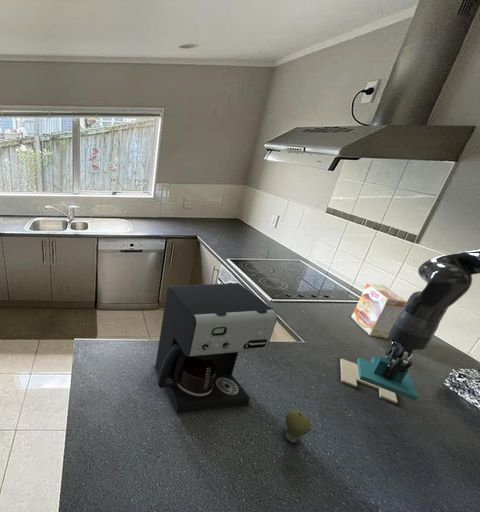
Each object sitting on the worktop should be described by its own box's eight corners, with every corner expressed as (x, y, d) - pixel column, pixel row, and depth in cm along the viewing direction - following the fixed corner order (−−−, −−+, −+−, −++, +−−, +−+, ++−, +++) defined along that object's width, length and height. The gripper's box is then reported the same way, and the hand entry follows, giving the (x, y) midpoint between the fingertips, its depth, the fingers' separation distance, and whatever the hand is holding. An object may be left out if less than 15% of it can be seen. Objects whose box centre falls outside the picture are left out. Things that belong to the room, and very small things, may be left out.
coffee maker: (164, 418, 83) (182, 320, 70) (143, 369, 101) (155, 283, 87) (248, 408, 87) (281, 314, 74) (215, 362, 105) (236, 280, 92)
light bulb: (274, 434, 80) (284, 409, 76) (286, 427, 82) (297, 403, 78) (293, 453, 75) (305, 427, 71) (306, 445, 77) (318, 420, 73)
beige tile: (389, 379, 101) (390, 376, 100) (395, 405, 90) (397, 402, 90) (339, 361, 108) (341, 358, 108) (340, 383, 98) (342, 380, 98)
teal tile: (405, 372, 88) (415, 356, 86) (415, 401, 78) (427, 383, 76) (356, 355, 95) (363, 339, 92) (359, 379, 85) (368, 362, 82)
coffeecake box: (349, 317, 137) (366, 282, 130) (367, 320, 135) (384, 285, 128) (368, 336, 124) (387, 298, 116) (387, 339, 122) (408, 301, 114)
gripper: (440, 346, 71) (409, 396, 77) (426, 321, 81) (399, 367, 87) (399, 334, 75) (372, 382, 81) (390, 312, 85) (367, 356, 92)
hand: (386, 374), depth 84 cm, fingers closed on teal tile, 2 cm apart
